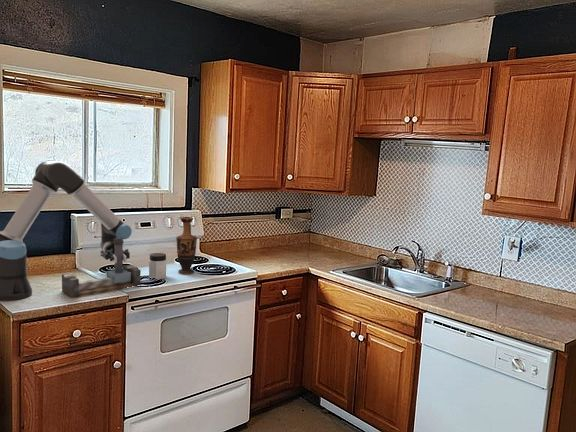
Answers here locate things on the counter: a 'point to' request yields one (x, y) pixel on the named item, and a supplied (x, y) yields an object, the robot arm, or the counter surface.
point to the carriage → (119, 264)
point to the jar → (157, 265)
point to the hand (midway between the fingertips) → (120, 259)
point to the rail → (97, 283)
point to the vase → (186, 247)
